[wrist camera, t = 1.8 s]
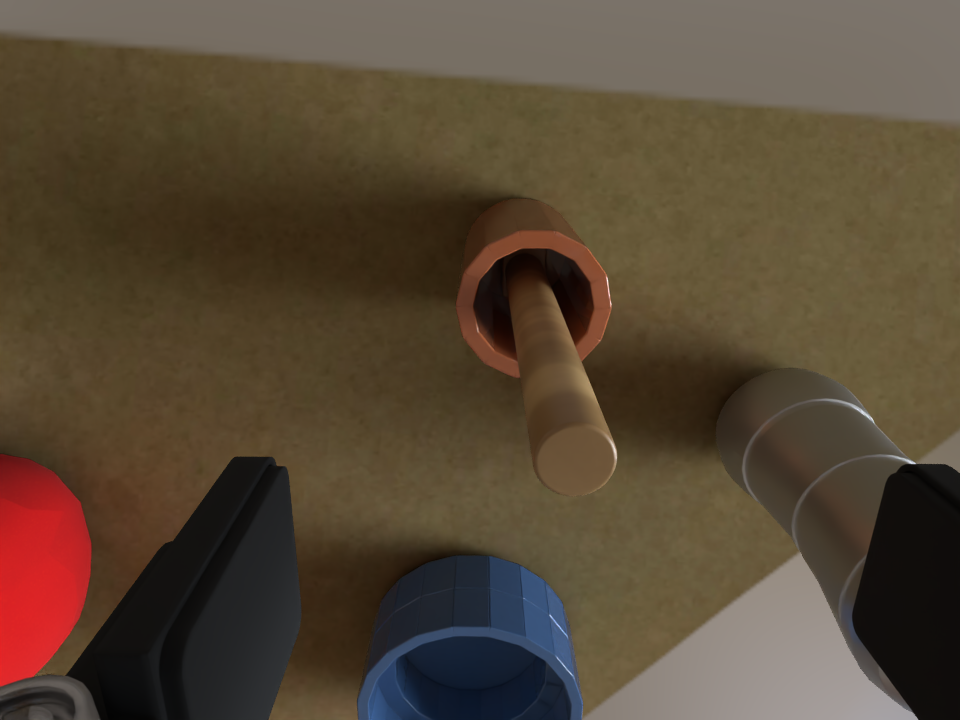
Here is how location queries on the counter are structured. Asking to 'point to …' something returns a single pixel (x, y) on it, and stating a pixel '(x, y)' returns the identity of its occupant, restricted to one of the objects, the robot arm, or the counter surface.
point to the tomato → (38, 566)
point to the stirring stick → (554, 384)
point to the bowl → (470, 647)
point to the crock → (566, 269)
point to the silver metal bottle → (814, 479)
